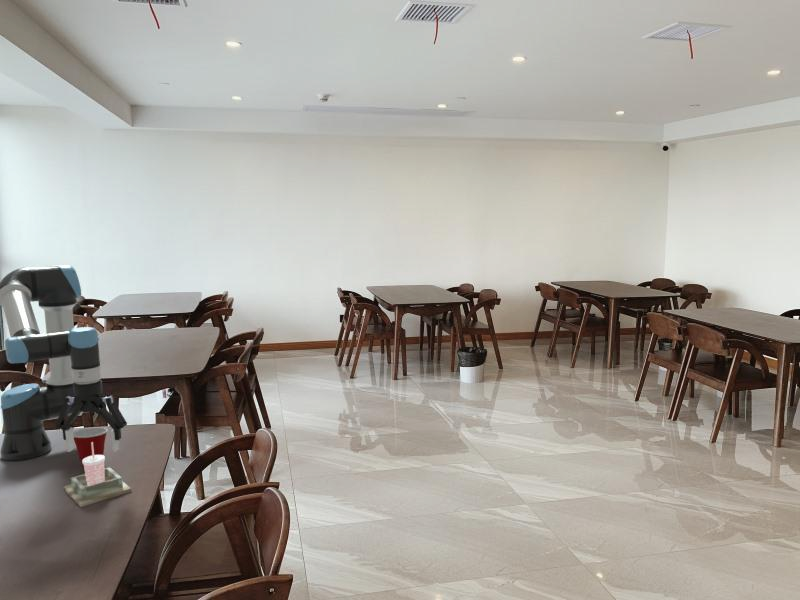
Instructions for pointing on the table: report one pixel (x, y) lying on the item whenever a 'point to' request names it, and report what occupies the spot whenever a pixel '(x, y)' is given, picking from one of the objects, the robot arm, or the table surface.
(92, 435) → the plastic cup
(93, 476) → the beverage cup
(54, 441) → the table surface
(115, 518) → the table surface
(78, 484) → the cup stand
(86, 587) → the table surface
